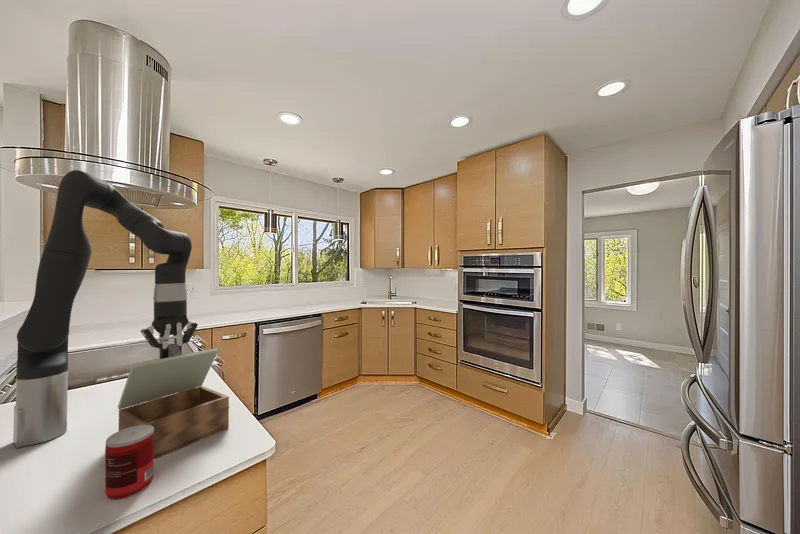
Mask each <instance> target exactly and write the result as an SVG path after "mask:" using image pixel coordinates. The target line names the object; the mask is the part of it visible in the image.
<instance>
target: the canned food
mask: <svg viewBox="0 0 800 534" xmlns="http://www.w3.org/2000/svg"><path fill="white" fill-rule="evenodd" d="M104 454H105V455H104V457H105V458H104V461H105V462H104V463H105V464H104V493H105V496H106V497H107V498H108V499H110V500H119V499H121V500H122V499H125V498H129V497H131V496H133V495H135V494H137V493H139V492H141V491H143V490H144V489H145V488H147V487H148V486H149V485H150V484H151V483H152V480H153V479H154V473H155V472H154V470H155V469H154V465H155V462H154V461H155V460H154V427H153V426H151V425H138V426H133V427H129V428H126V429H123V430H120V431H119V430H118V431H117V432H114V433H112V434H111V435H109V436H108V437H107V438H106V441H105V450H104Z"/></svg>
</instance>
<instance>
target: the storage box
mask: <svg viewBox="0 0 800 534" xmlns="http://www.w3.org/2000/svg"><path fill="white" fill-rule="evenodd" d="M229 407H230V396H228V395H226V394H224V393H220V392H218V391H216V390H214V389H210V388H208V387H206V386H203V385H202V386H199V387H196V388H193V389H190V390H186V391H183V392H179V393H175V394H171V395H168V396H165V397H162V398H159V399H155V400H152V401H147V402H144V403H140V404H137V405H133V406H130V407H126V408H123V409H120V410H119V409H118V431H120V430H123V429H126V428H129V427H133V426H138V425H151V426H153V427H154V461H155V460H157V459H159V458H161V457H164V456H166V455H168V454H171V453H173V452H176V451H178V450H181V449H182V448H185V447H187V446H189V445H193V444H194V443H196V442H199V441H202V440H204V439H206V438H208V437H211V436H213V435H215V434H218V433H220V432H222V431H224V430H227V429H229V427H230V426H229V425H230V424H229V422H230V421H229V418H230V417H229V416H230V415H229V413H230V411H229V410H230V409H229Z"/></svg>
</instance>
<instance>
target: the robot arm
mask: <svg viewBox="0 0 800 534" xmlns="http://www.w3.org/2000/svg"><path fill="white" fill-rule="evenodd" d="M54 207H55V208H54V214H53V219H52V223H51V227H50V230H49V233H48V237H47V240H46V242H45V246H44V247H43V251H42V254H41V257H40V260H39V264H38V267H37V268H38V269H37V273H36V279H35V280H36V281H35V288H34V289H35V291H34V297H33V300H32V303H31V304H30V305H31V306H30V308H29V310H28V312H27V315H26V317H25V319H24V321H23V322H22V325H21V326H20V327H19V329H18V331H17V334H16V339H17V340H16V341H17V358H16V359H17V361H16V370H15V372H16V375H15V376H16V377H15V378H16V379H15V381H16V383H15V405H14V406H13V429H12V430H13V434H12V436H13V439H12V442H13V444H14V446H15V447H16V449H19V448H21V447H27V446H28V447H29V446H32V445H37V444H41V443H45V442H48V441H51V440H54V439H55V438H58V437H60V436H62V435H64V434H65V433H66V432H67V431H68V429H67V428H68V395H69V394H68V390H69V389H68V386H69V385H68V384H69V383H68V382H69V335H70V324H71V317H72V309H73V306H74V301H75V299H76V296H77V294H78V291H79V290H80V288H81V285H82V283H83V280H84V278H85V275H86V273H87V270H88V266H89V264H90V260H91V256H92V245H91V242H90V239H89V237H88V234H87V232H86V230H85V227H84V224H83V214H84V209H85V207H88V208H90V209H95V210H99V211H101V212H104V213H106V214H108V215H110V216H113V218H116V220H117V223H119V225H121V227H122V228H124V229H125V230H127V231H128V232H129V233H131V234H132V235H134V236H136V237H138V238H139V240H140V241H141V242H142V243H143V245H144V246H145V248H147V249H148V250H149V251H151V252H153V253H154V254H158V255H168V258H167V259H166V262H163V263H158V264H157V265H156V266H155V269H154V289H153V296H152V297H153V320H152V323H151V325H150V326H148V327H146V328H142V329H140V333H141V335H142V336H143V337H144V339H145V340H146V341H147V343H148V344H149V346H150V347H152V348H155V349H159V359H164V358H168V348H167V346H168V343H169V340H170V336H172V339H173V344H174V343H177V345H178V348H179V350H180V352H181V354H182V349H183V348H182V346H183V345H184V344H187V343H189V342H190V341H191V338H192V337H193V335H194V333H195V331H196V329H197V328H198V323H197V322H192V321H190V320H189V319H188V317H187V315H188V312H187V311H188V308H187V307H188V306H187V303H188V301H187V299H188V297H187V294H188V293H187V291H188V290H187V285H186V284H187V283H186V269H187V266H188V263H189V261H190V260H189V259H190V256H191V253H192V247H193V245H192V244H193V243H192V241H191V238H190V236H189V235H188V234H187V233H184V232H181V231H177V230H176V231H175V230H170V229H166V228H165V227H164V224H163V222H161V221H160V220H159V219H157V218H156V217H154V215H153V216H152V214H149V213H148V212H146V211H145V210H143V209H141V208H140V207H138V206H136V205H135V204H133V203H132V202H131V201H129V200H128V199H127V198H126V197H125V196H124V195H123V194H122V193H121V192H120V191H119V190H118V189H116V187H114V186H113V185H112V184H111V183H109V182H108V181H105V180H103V179H101V178H100V177H97V176H95V175H92V174H90V173H87V172H85V171H82V170H78V169H74V170H71V171H69V172H67V173H66V174H65V175H64V176H63V177H62V179H61V180H60V183H59V185H58V190H57V196H56V201H55V206H54ZM185 328H186V330H185V331H184V334H183V330H184V329H185ZM154 330H155V331H156V332H157V333H158V334H159V336H158V340H159V341H158V340H157V339H156V337H155V336H154V335H153V334H154V332H155V331H154ZM182 355H183V354H182Z"/></svg>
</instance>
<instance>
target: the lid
mask: <svg viewBox="0 0 800 534" xmlns="http://www.w3.org/2000/svg"><path fill="white" fill-rule="evenodd" d="M167 348H168V358H164V359H160V358H159V359H155V360H149V361H144V362H140V363H139V362H138V363H134V364H131V368H130V371H129V373H128V376H127V379H126V382H125V385H124V388H123V390H122V393H121V396H120V399H119V402H118V406H117V409H118V411H119V410H121V409H124V408H128V407H131V406H135V405H138V404H141V403H145V402H148V401H151V400H154V399H158V398H161V397H166V396H169V395H172V394H176V393H178V392H182V391H185V390H189V389H192V388H197V387H200V386H203V384H204V382H205V379H206V378H207V375H208V374H209V371H210V369H211V366H212V364H213V363H214V361H215V358H216V356H217V354H218V352H219V349H218V348H217V347H215V348H210V349H205V350H200V351H195V352H190V353H189V352H188V353H184V354H181V352H180V350H179V348H178V345H177V343H174V342H173V343H169V344H168V346H167Z"/></svg>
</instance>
